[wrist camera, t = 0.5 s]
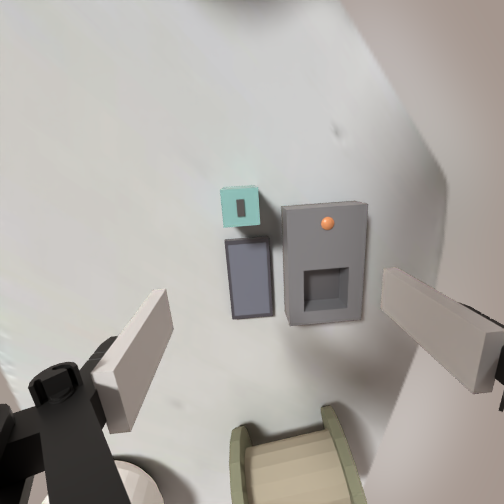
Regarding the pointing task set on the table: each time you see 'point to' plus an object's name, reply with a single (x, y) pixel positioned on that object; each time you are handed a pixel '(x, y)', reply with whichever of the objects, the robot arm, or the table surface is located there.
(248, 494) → the spool
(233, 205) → the block
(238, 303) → the phone
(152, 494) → the bowl
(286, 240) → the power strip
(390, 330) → the table surface
